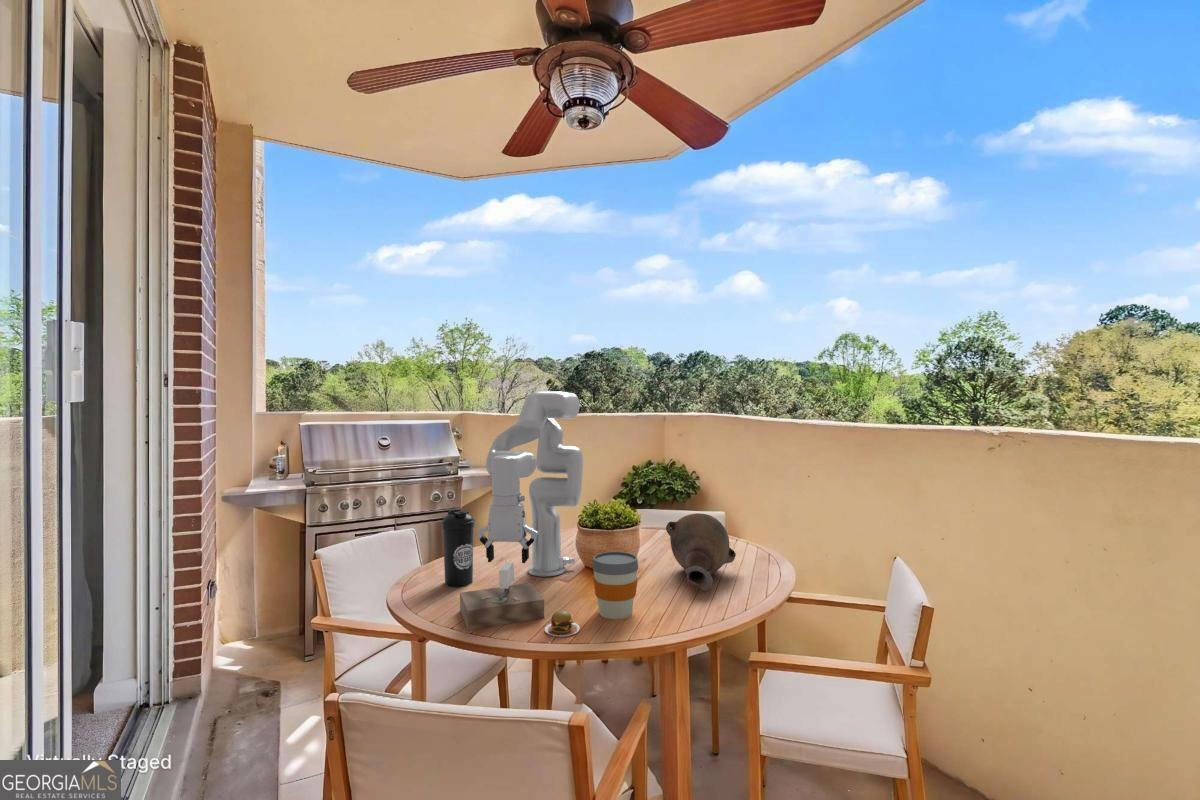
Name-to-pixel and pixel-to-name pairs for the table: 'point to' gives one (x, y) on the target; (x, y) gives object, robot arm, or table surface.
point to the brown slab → (501, 606)
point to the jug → (700, 547)
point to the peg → (506, 577)
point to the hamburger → (561, 623)
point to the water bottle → (458, 548)
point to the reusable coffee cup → (615, 583)
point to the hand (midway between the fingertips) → (507, 561)
